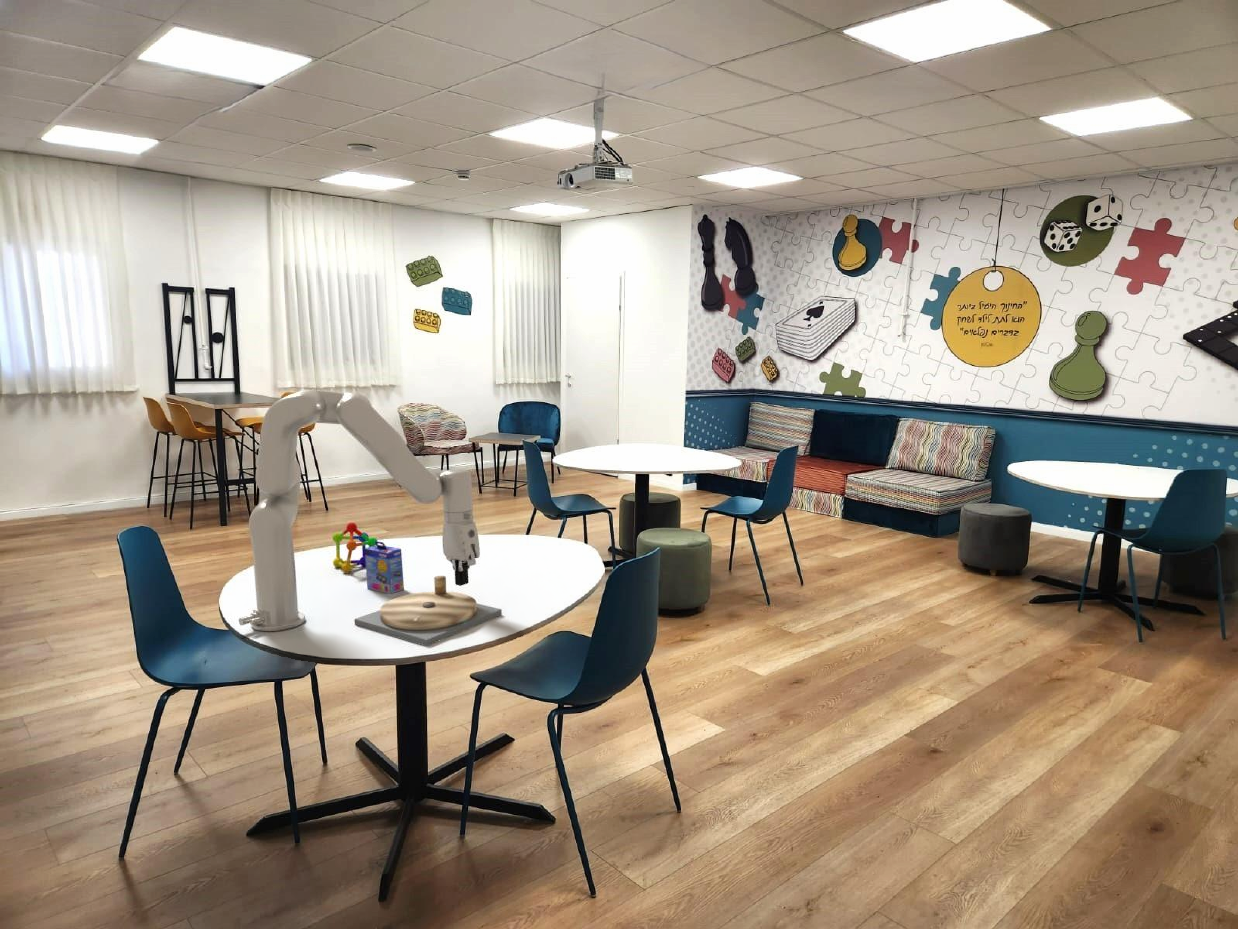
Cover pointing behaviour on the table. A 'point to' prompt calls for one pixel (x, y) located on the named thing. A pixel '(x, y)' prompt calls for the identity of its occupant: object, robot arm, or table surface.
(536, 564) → the table surface
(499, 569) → the table surface
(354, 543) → the educational toy
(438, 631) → the base plate
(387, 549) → the ink cartridge box
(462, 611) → the turntable
